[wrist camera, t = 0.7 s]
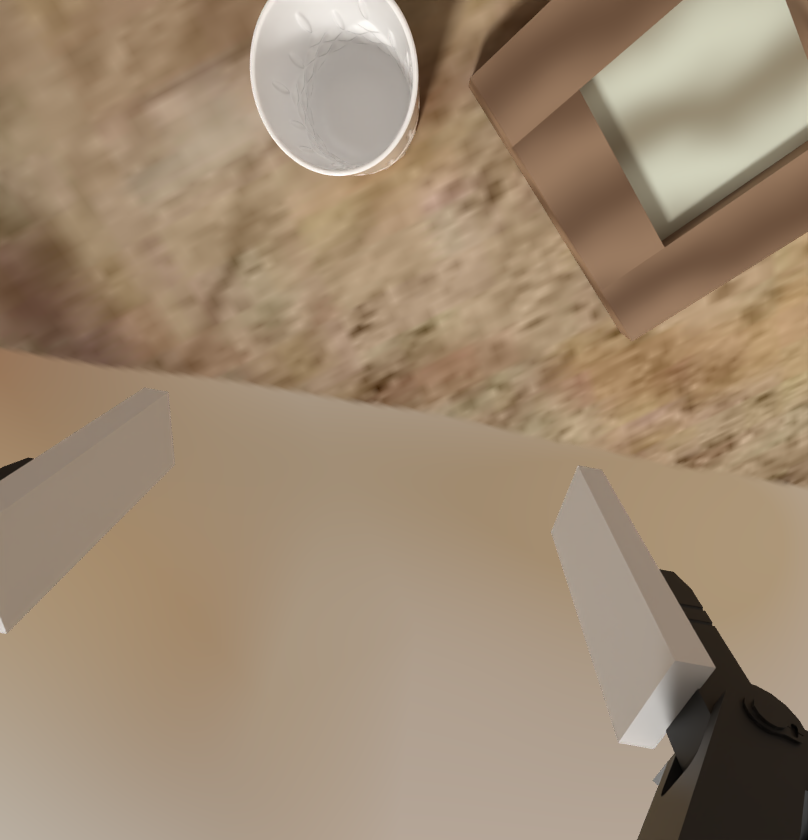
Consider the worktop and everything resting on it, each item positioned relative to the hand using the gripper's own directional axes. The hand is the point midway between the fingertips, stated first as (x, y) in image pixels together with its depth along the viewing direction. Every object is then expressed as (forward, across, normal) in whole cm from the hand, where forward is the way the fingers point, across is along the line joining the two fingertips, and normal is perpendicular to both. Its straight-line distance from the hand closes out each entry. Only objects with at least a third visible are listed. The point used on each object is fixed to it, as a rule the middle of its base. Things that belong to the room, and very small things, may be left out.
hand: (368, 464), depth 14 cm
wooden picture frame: (+23, +15, +15) cm, 31 cm away
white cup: (+23, -5, +12) cm, 27 cm away
